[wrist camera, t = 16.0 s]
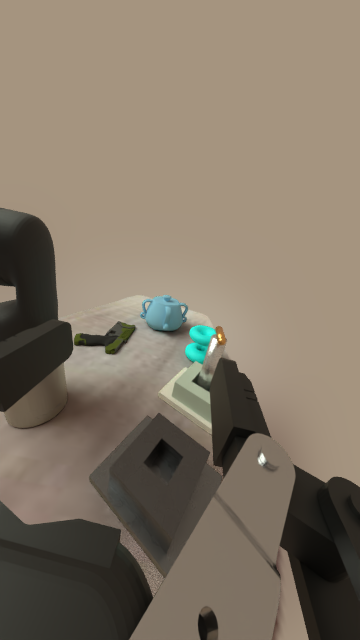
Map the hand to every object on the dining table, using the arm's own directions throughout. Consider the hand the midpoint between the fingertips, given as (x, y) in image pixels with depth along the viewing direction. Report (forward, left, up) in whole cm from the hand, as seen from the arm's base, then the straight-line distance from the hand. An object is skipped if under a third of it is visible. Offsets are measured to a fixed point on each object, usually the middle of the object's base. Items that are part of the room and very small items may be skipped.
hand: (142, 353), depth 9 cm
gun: (-39, +27, -28) cm, 56 cm away
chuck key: (-2, +25, -26) cm, 36 cm away
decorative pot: (-32, +49, -28) cm, 65 cm away
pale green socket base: (-2, +25, -28) cm, 37 cm away
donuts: (-10, +41, -28) cm, 51 cm away
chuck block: (0, +7, -28) cm, 29 cm away
